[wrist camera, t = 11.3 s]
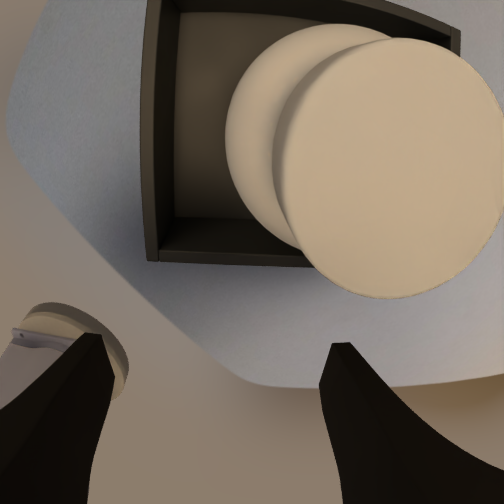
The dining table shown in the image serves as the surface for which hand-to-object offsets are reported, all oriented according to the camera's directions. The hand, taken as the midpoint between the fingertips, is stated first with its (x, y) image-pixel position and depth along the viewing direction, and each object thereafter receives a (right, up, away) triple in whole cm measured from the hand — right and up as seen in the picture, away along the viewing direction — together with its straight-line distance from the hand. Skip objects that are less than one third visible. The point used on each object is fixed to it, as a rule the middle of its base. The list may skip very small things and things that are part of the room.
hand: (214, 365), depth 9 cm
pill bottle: (+3, +10, +5) cm, 12 cm away
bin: (+3, +10, +6) cm, 12 cm away
